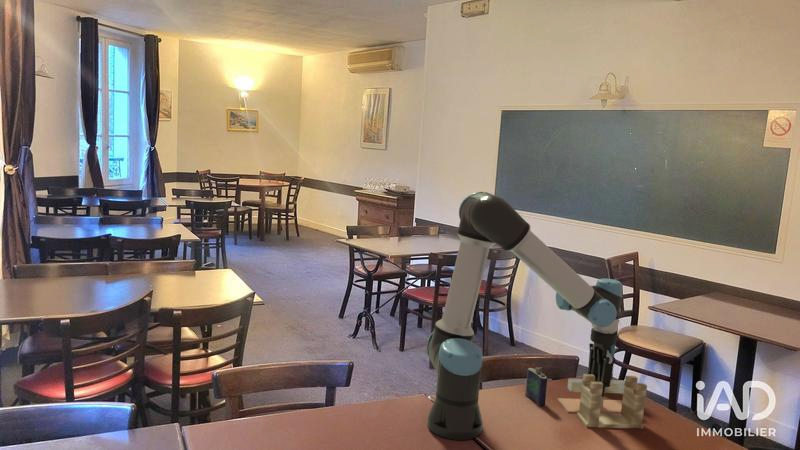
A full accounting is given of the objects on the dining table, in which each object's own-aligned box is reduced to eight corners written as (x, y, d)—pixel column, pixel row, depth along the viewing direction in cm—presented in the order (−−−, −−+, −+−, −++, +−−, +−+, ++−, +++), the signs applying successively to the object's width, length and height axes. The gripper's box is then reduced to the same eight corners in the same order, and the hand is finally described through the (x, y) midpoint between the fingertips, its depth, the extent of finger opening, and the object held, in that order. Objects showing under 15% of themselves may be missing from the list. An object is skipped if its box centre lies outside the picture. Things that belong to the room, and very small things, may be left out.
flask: (523, 394, 185) (526, 362, 183) (531, 393, 186) (534, 361, 184) (539, 407, 176) (543, 373, 175) (548, 406, 177) (551, 373, 176)
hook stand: (586, 427, 165) (591, 383, 163) (576, 415, 172) (581, 374, 170) (643, 428, 166) (648, 385, 165) (631, 417, 173) (636, 375, 171)
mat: (567, 412, 174) (568, 411, 173) (557, 399, 182) (557, 398, 182) (634, 414, 175) (634, 413, 175) (621, 401, 184) (621, 400, 184)
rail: (570, 391, 176) (572, 382, 176) (567, 387, 179) (568, 378, 178) (627, 393, 178) (628, 384, 177) (623, 389, 180) (624, 380, 180)
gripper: (628, 338, 168) (619, 415, 171) (605, 322, 184) (596, 392, 187) (603, 337, 167) (594, 414, 170) (582, 321, 183) (574, 391, 186)
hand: (595, 402), depth 179 cm, fingers closed on rail, 3 cm apart
